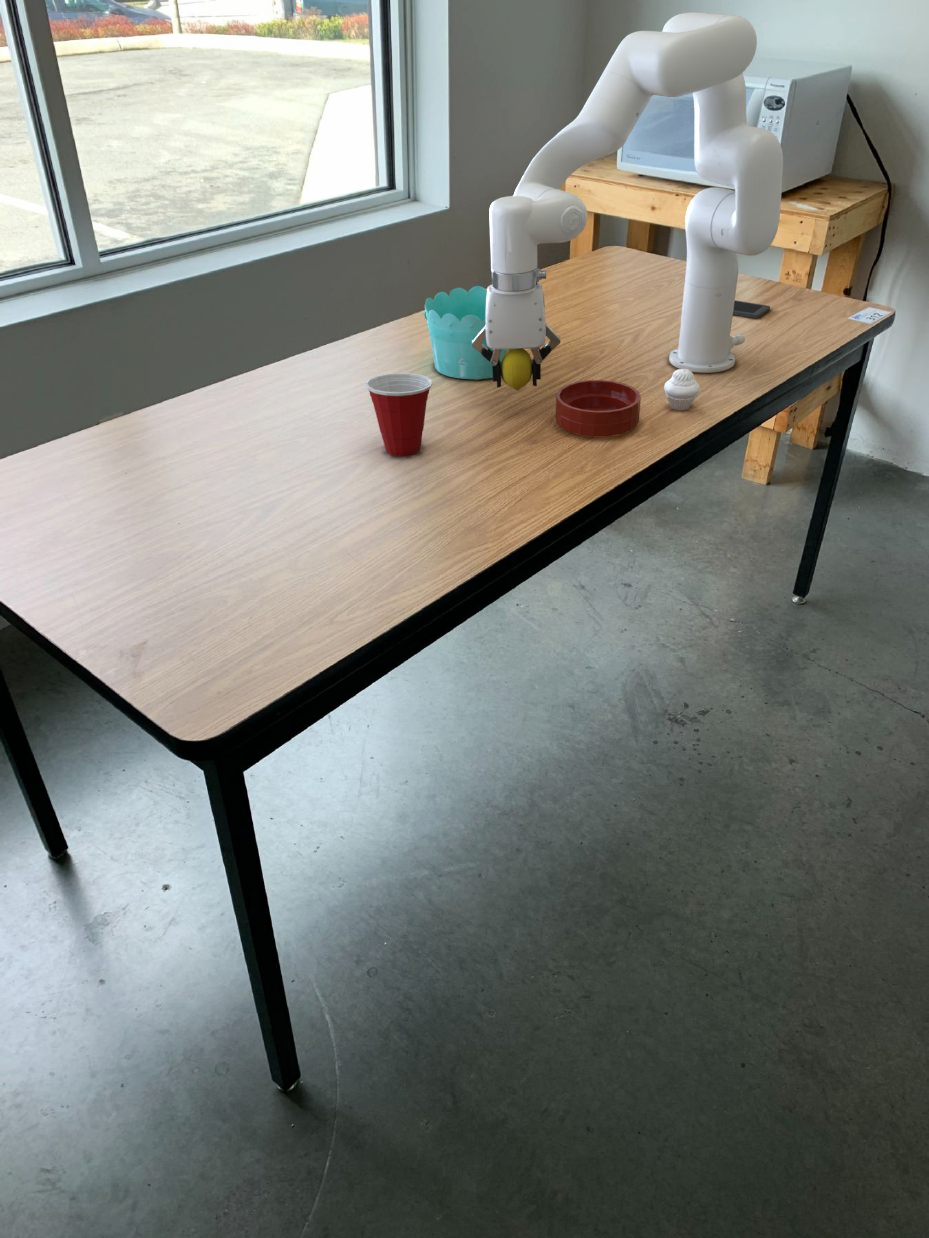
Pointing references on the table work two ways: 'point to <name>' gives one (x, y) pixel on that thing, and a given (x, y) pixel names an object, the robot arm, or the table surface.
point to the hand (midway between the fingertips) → (516, 383)
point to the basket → (458, 333)
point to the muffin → (681, 389)
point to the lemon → (516, 368)
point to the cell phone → (749, 309)
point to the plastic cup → (400, 410)
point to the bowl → (597, 408)
